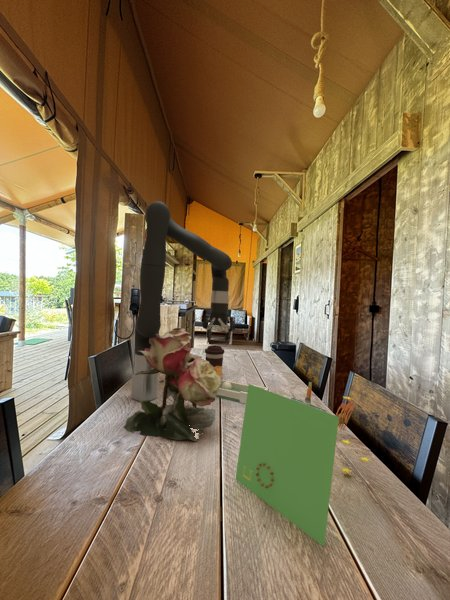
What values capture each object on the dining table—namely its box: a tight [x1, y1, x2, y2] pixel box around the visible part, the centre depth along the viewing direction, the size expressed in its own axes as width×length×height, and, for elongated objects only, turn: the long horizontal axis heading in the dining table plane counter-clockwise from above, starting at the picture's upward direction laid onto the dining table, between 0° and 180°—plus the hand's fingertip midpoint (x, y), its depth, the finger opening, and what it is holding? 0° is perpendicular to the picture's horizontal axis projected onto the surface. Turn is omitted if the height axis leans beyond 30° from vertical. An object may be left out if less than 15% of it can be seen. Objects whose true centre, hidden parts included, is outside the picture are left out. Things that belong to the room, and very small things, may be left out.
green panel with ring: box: [235, 381, 371, 547], centre depth 64 cm, size 22×25×24 cm
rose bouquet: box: [117, 327, 223, 442], centre depth 92 cm, size 26×29×30 cm
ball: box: [222, 382, 232, 390], centre depth 118 cm, size 4×4×4 cm
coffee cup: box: [204, 345, 225, 367], centre depth 143 cm, size 10×10×15 cm
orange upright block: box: [214, 365, 223, 388], centre depth 120 cm, size 6×2×9 cm, turn 153°
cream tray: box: [216, 379, 270, 405], centre depth 116 cm, size 11×24×4 cm, turn 63°
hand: (218, 340), depth 120 cm, fingers open, 8 cm apart
